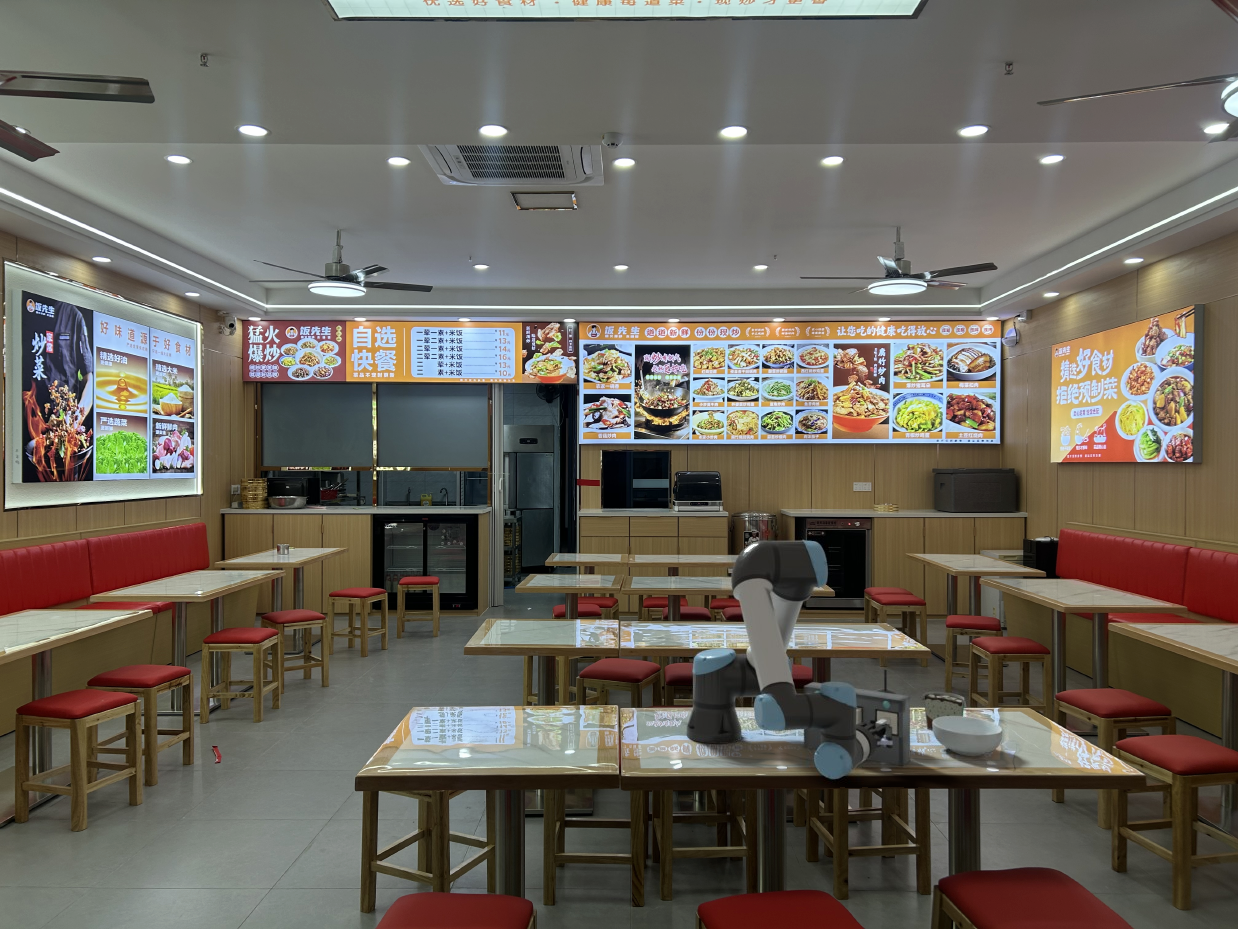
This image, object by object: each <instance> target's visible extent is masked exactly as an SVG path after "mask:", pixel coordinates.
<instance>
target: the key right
mask: <svg viewBox="0 0 1238 929" xmlns="http://www.w3.org/2000/svg"><path fill="white" fill-rule="evenodd" d="M884 717H887V718H890V726H891V727H892V734H898V733H899V713H898V712H892V711H886V710H878V711H877V722H878V721H879V720H881V719H882V718H884Z"/></svg>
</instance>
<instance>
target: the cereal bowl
mask: <svg viewBox="0 0 1238 929" xmlns="http://www.w3.org/2000/svg"><path fill="white" fill-rule="evenodd" d="M932 727H933V730H932V733H933V735H934V737H935V739H936V740H937V741H938V743H939V744H941V746H943V747H946V748H947V749H950V751H951V752H953V753H955V754H958V755H961V756H969V757H978V756H982V755H983V754H987V753H990V752H993V751H995V750H996V749H998V748H999V746H1000V745H1001V743H1002V739H1003V729H1002V726H1000V725H998V724H997V723H995V722H992V721H989V720H985V719H981V718H978V717H977V718H976V717H971V716H964V715H963V716H945V717H939V718H936V719H934V720H933V722H932Z"/></svg>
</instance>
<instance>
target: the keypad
mask: <svg viewBox="0 0 1238 929" xmlns="http://www.w3.org/2000/svg"><path fill="white" fill-rule="evenodd" d="M822 684H823V682H821V683H820V682H814V681H812V682H810V683H808V684H806V685H804V686H803V693H820V689H821V685H822ZM854 688H855V693H856V705H857V707H863V722H865V723H867V725H868V724H870V720H875V722H877V711H878V710H886V711H892V712H898V713H899V733H898V734H892V743H893V744H892V747H893V748H887V747H886V746H884V745H881V747H879V748H876V749H875V751H874V753H873V754H872V755H871V756H870V757H869V758H867V759H866V760H869V761H874V762H879V763H884V764H890V765H895V766H901V767H904V766H905V765H906V764H908V763H909V762H910V760H911V696H910V695H905V694H904V695H903V694H900V695H897V694H891V693H884V692H877V691H875V690H869V689H863V688H856V687H854ZM820 745H821V729H803V748H806V749H807V748H808V749H813V750H817V749H818V747H819V746H820Z"/></svg>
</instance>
